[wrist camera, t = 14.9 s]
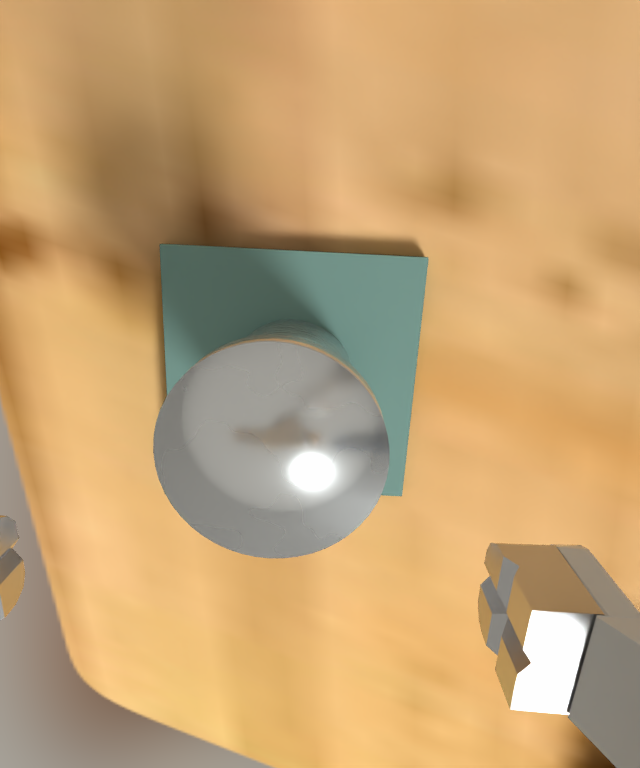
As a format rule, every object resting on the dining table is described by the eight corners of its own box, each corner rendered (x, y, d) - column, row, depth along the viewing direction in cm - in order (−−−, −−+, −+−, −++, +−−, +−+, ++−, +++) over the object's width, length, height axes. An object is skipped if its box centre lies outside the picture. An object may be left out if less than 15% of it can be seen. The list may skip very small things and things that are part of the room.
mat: (164, 243, 18) (159, 243, 18) (425, 256, 18) (428, 257, 18) (175, 477, 21) (171, 484, 21) (399, 489, 21) (401, 496, 21)
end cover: (213, 299, 18) (146, 335, 12) (375, 307, 18) (401, 348, 12) (216, 447, 20) (159, 552, 13) (363, 455, 20) (379, 564, 13)
